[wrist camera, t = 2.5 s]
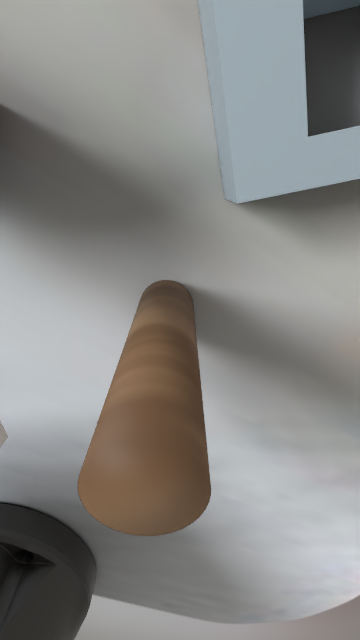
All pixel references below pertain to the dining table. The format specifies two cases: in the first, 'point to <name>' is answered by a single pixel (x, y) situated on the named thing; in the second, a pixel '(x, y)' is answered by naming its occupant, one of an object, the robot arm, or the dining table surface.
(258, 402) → the dining table surface
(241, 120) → the hole block
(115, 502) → the peg
